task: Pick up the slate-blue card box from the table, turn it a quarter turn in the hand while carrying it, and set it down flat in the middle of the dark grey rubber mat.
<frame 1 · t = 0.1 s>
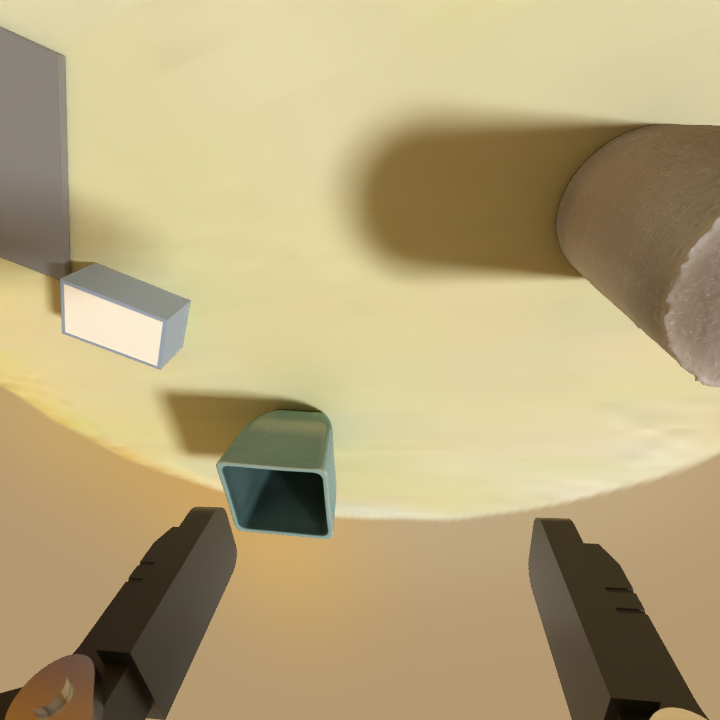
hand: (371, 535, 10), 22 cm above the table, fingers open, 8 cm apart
pillar candle: (629, 209, 26), on the table
flower pot: (302, 427, 39), on the table
card box: (142, 306, 33), on the table
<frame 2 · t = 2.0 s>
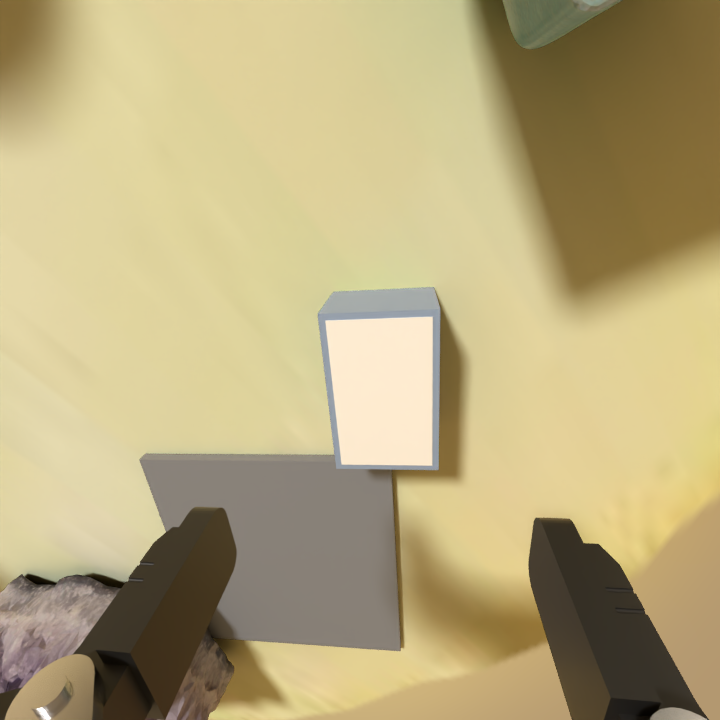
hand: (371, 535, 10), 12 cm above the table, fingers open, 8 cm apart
geode: (125, 615, 32), on the table, touching rubber mat
rubber mat: (284, 557, 28), on the table
card box: (386, 361, 21), on the table
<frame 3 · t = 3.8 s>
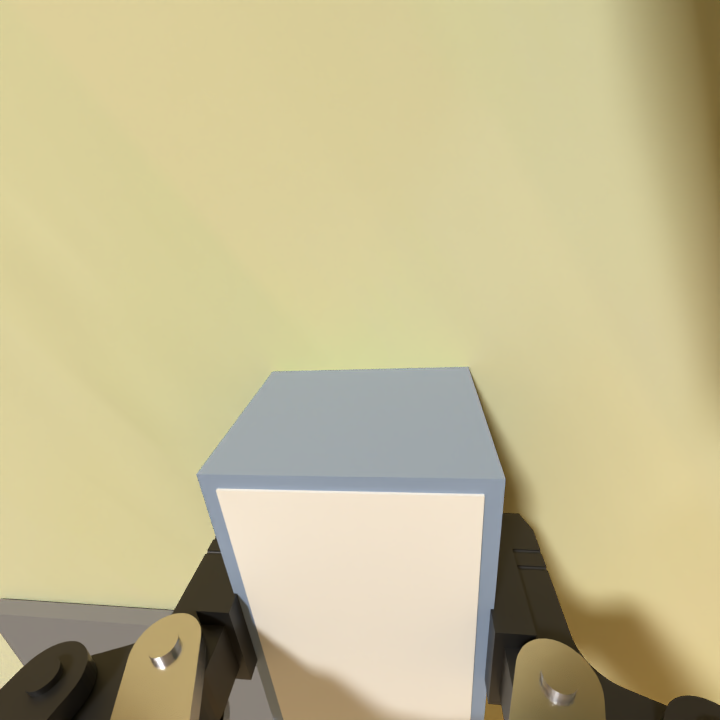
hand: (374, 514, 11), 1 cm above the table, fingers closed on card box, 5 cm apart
card box: (376, 491, 11), on the table, touching gripper
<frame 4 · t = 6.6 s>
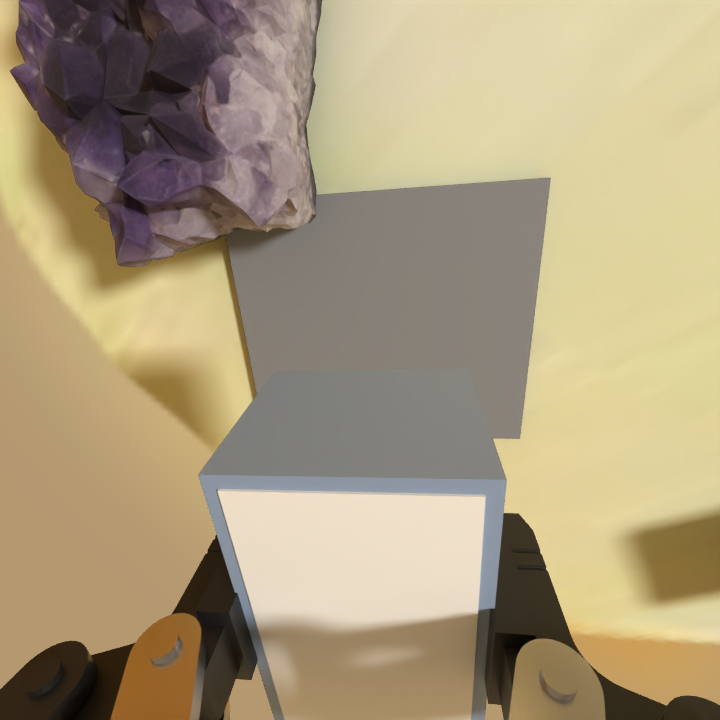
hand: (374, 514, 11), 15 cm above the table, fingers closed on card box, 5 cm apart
geode: (221, 51, 19), on the table, touching rubber mat
rubber mat: (382, 327, 25), on the table
card box: (377, 491, 11), point 14 cm above the table, touching gripper
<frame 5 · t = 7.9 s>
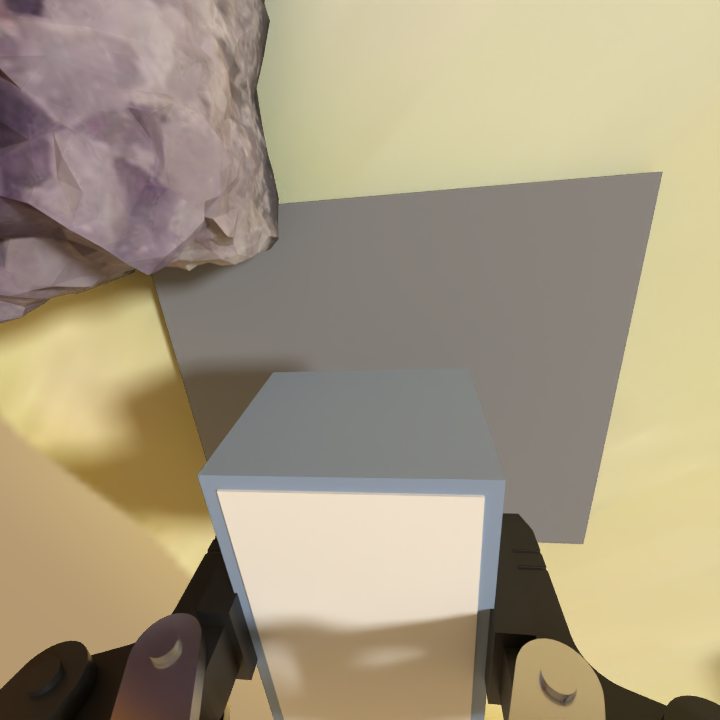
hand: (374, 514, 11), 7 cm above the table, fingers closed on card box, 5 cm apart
rubber mat: (386, 393, 17), on the table
card box: (377, 492, 11), point 6 cm above the table, touching gripper
when the fingers open (2 cm above the table, at t = 9.2 s): card box stays where it is, resting on rubber mat.
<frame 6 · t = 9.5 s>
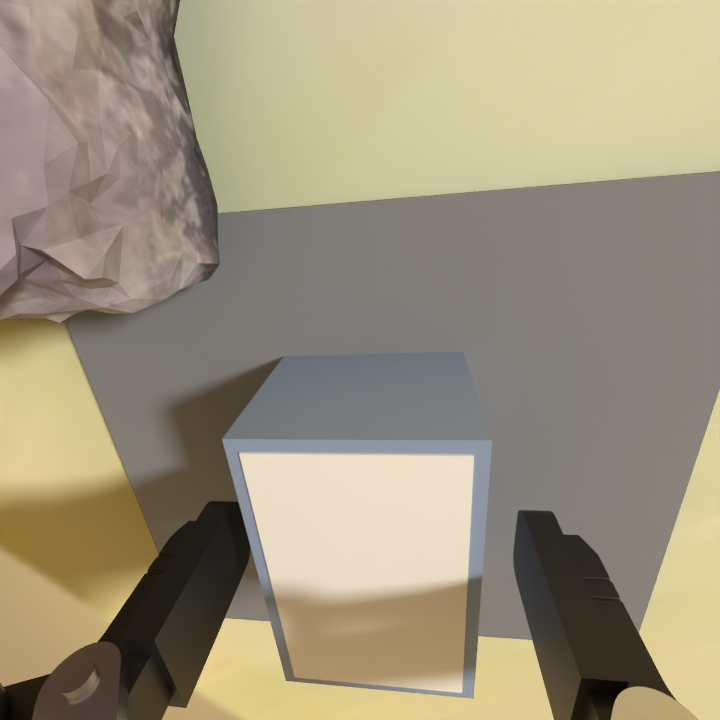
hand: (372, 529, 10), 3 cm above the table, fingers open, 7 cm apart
rubber mat: (380, 459, 13), on the table
card box: (378, 469, 12), point 1 cm above the table, touching rubber mat
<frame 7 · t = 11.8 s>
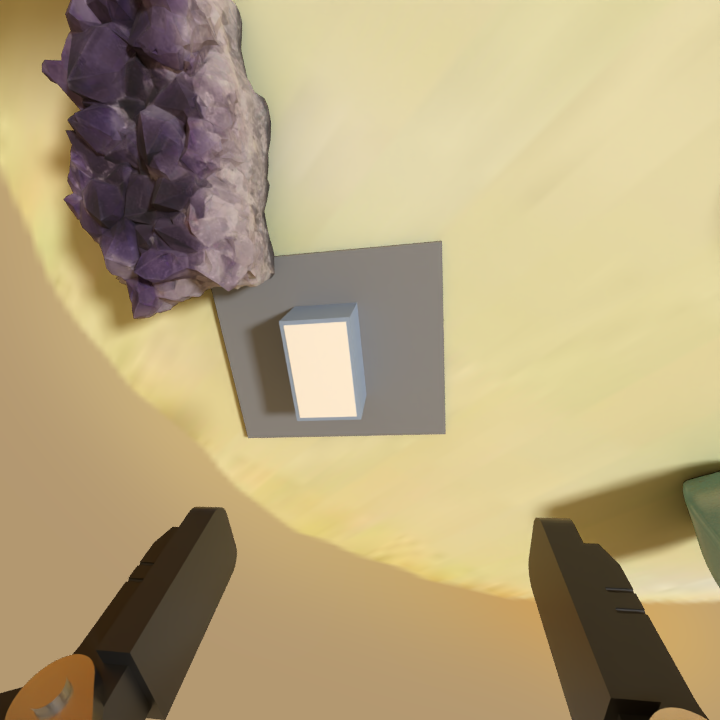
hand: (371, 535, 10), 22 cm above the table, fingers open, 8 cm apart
geode: (203, 160, 27), on the table, touching rubber mat
rubber mat: (333, 350, 32), on the table
flower pot: (716, 491, 33), on the table
card box: (331, 352, 31), point 1 cm above the table, touching rubber mat
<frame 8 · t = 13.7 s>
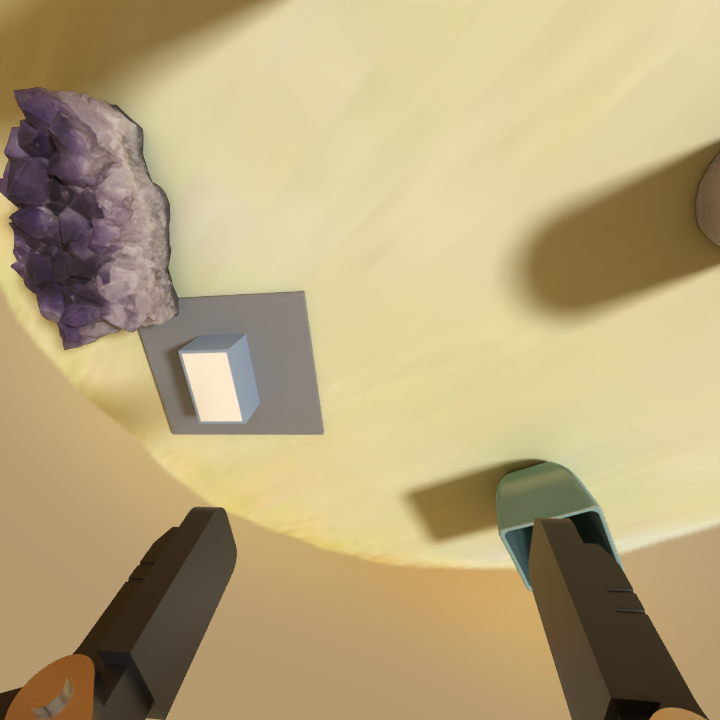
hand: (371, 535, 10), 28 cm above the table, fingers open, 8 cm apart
geode: (123, 227, 36), on the table, touching rubber mat
rubber mat: (233, 368, 41), on the table
flower pot: (532, 482, 43), on the table
card box: (230, 370, 41), point 1 cm above the table, touching rubber mat
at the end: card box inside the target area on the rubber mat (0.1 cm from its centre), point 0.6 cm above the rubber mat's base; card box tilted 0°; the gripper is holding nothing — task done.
